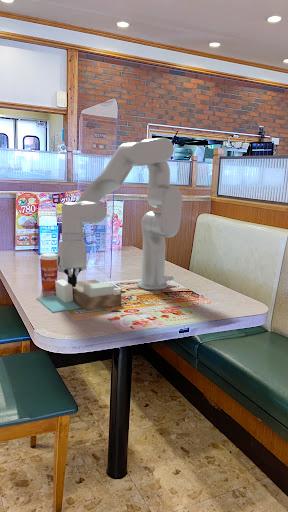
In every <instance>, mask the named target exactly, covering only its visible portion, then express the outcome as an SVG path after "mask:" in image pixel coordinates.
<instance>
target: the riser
mask: <svg viewBox="0 0 288 512" xmlns="http://www.w3.org/2000/svg"><path fill="white" fill-rule="evenodd" d="M93 283H101V282H100V281H99V280H96V279H91V280H90V279H89V280H87V279H86V280H80V281H77V284H76V287H72V291H73V301H72V302H74V303H75V304H77V305H78V306H79V307H81V308H80V309H82V310H84V311H90V310H95V309H102V307H103V308H108V307H109V308H110V307H114V306H121V305H122V293H120V292H118V291H117V290H115V289H114V294H111V295H104V296H96V297H89V296H88V295H86V294H85V293H84V285H85V284H93Z"/></svg>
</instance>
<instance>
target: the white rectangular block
mask: <svg viewBox="0 0 288 512" xmlns="http://www.w3.org/2000/svg"><path fill="white" fill-rule="evenodd" d="M55 284H56V290H55V293H56V295H55V296H57V297H58V298H60V299H61V300H62V301H64V302H65V303H67V302H71V301H72V302H73V291H72V285H71V284H69V283H68V281H67V280H65V279H63V278H62V279H57V281H55Z"/></svg>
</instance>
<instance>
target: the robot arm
mask: <svg viewBox="0 0 288 512" xmlns="http://www.w3.org/2000/svg"><path fill="white" fill-rule="evenodd" d="M174 150H175V147H174V143H173V142H172V141H171V140H170V139H169V138H168V137H167V138H166V137H155V138H154V137H153V138H147V139H143V140H141V141H137V142H124V143H122V144H120V145H119V146H118V147H117V148H116V150H115V152H114V153H113V155H112V157H111V158H110V160H109V161H108V163H107V165H106V166H105V168H104V170H103V171H102V173H101V174H99V176H97V178H96V179H94V180H93V181H92V182H91V183H90V184H89V185H87V187H86V188H85V189H84V190H83V192H82V193H81V196H79V198H78V200H77V201H75V202H74V201H73V202H72V201H71V202H70V201H68V202H64V203H62V204H61V205H62V206H61V240H59V241H58V245H57V253H56V254H57V266H58V272H59V273H64V274H66V275H67V282H68V283H69V284H71V285H72V287H76V284H77V282H78V276H79V274H81V272H83V271H85V270H87V263H88V262H87V261H88V260H87V257H88V256H87V247H86V243H85V240H84V238H86V237H87V233H85V232H84V223H87V224H88V223H90V224H99V223H101V222H102V221H103V220H105V218H106V217H107V209H106V208H105V206H104V205H103V204H101V203H100V201H101V200H102V198H105V196H106V195H108V194H110V193H113V192H115V191H116V190H118V189H119V188H121V187H122V185H123V184H124V182H125V181H126V179H127V177H128V176H129V174H130V172H132V171H131V170H132V169H133V167H144V166H147V169H148V184H147V192H146V193H147V194H146V199H147V204H148V205H149V206H150V207H152V208H154V209H155V208H156V209H160V210H161V211H157V210H151V211H148V212H146V213H145V214H144V215H142V219H141V223H140V225H141V232H142V255H141V256H142V260H141V262H142V263H141V280H139V281H138V282H137V286H138V288H141V289H143V290H149V291H150V290H151V291H160V290H164V289H167V288H168V283H167V282H169V281H173V280H175V279H174V276H173V275H165V271H166V270H165V269H166V268H165V266H166V249H167V245H166V238H172V237H174V236H176V235H177V233H178V232H179V229H180V227H181V226H180V225H181V220H182V210H183V194H182V191H181V190H180V188H178V186H176V185H173V184H171V183H170V181H171V169H170V165H169V163H168V160H169V159H172V157H173V154H174Z"/></svg>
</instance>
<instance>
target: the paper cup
mask: <svg viewBox="0 0 288 512" xmlns="http://www.w3.org/2000/svg"><path fill="white" fill-rule="evenodd" d="M38 258H39V264H40V276H41V290H43V291H46V292H48V291H49V292H52V291H56V284H55V281H57V280H58V272H59V271H58V266H57V253H54V252H43V253H41V254H40V255H39V257H38Z"/></svg>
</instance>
